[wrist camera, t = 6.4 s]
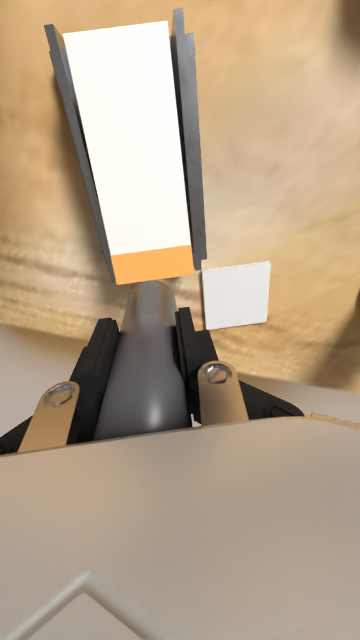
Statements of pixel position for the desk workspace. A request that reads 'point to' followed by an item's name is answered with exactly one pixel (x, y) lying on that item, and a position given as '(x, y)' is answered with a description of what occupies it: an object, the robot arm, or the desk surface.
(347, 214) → the desk surface
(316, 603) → the robot arm
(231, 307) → the mat
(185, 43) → the tilting lid box
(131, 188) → the tilting box lid
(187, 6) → the desk surface
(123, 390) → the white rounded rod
